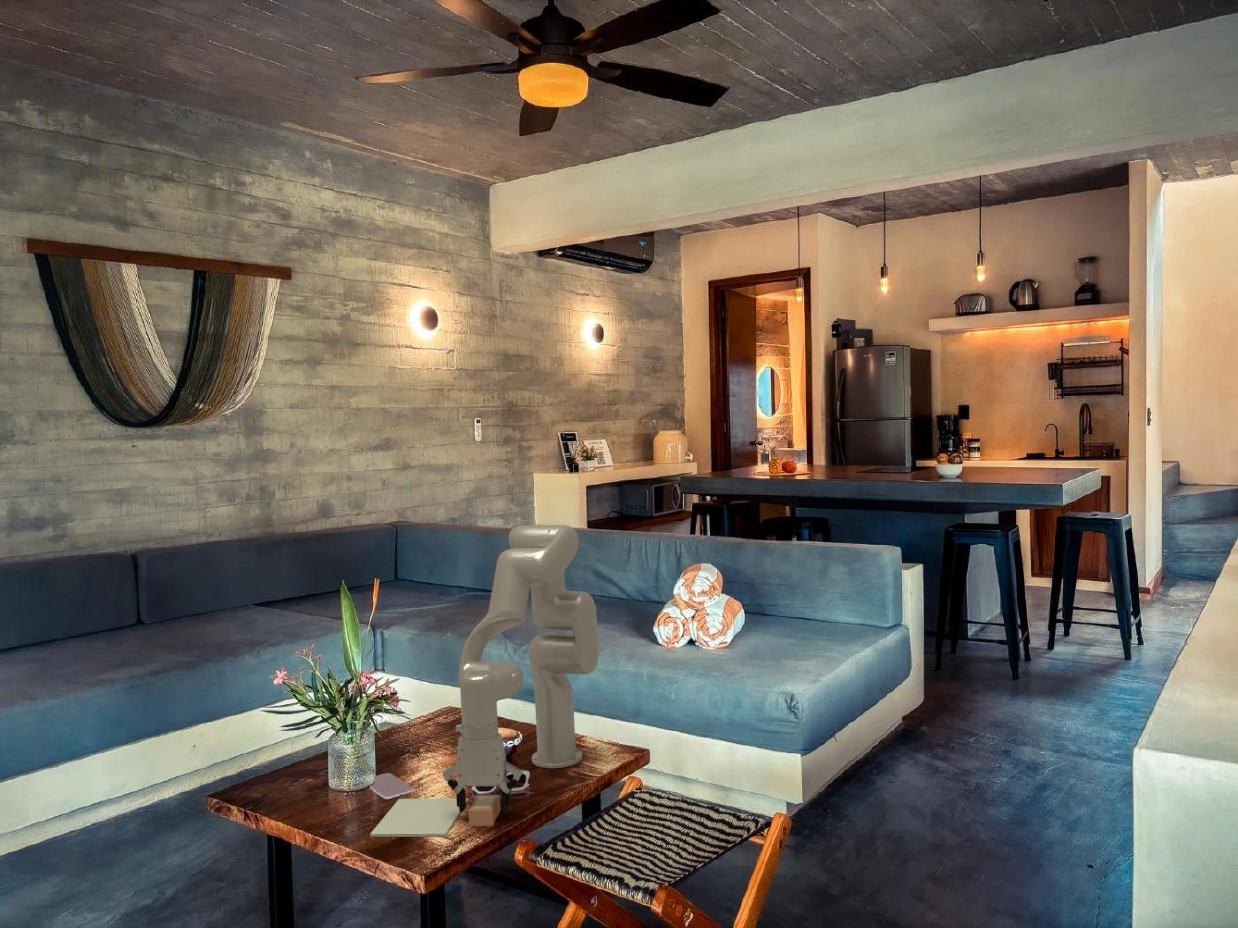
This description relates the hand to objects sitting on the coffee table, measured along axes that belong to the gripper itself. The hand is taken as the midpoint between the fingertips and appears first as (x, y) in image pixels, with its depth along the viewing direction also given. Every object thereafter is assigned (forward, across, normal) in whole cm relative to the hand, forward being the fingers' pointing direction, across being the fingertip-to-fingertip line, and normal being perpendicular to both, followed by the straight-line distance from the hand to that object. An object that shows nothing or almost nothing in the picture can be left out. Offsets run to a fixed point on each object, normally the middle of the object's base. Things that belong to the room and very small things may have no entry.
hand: (484, 809), depth 198 cm
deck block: (+2, 0, 0) cm, 2 cm away
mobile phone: (+2, -28, +18) cm, 33 cm away
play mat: (+2, -14, 0) cm, 14 cm away
